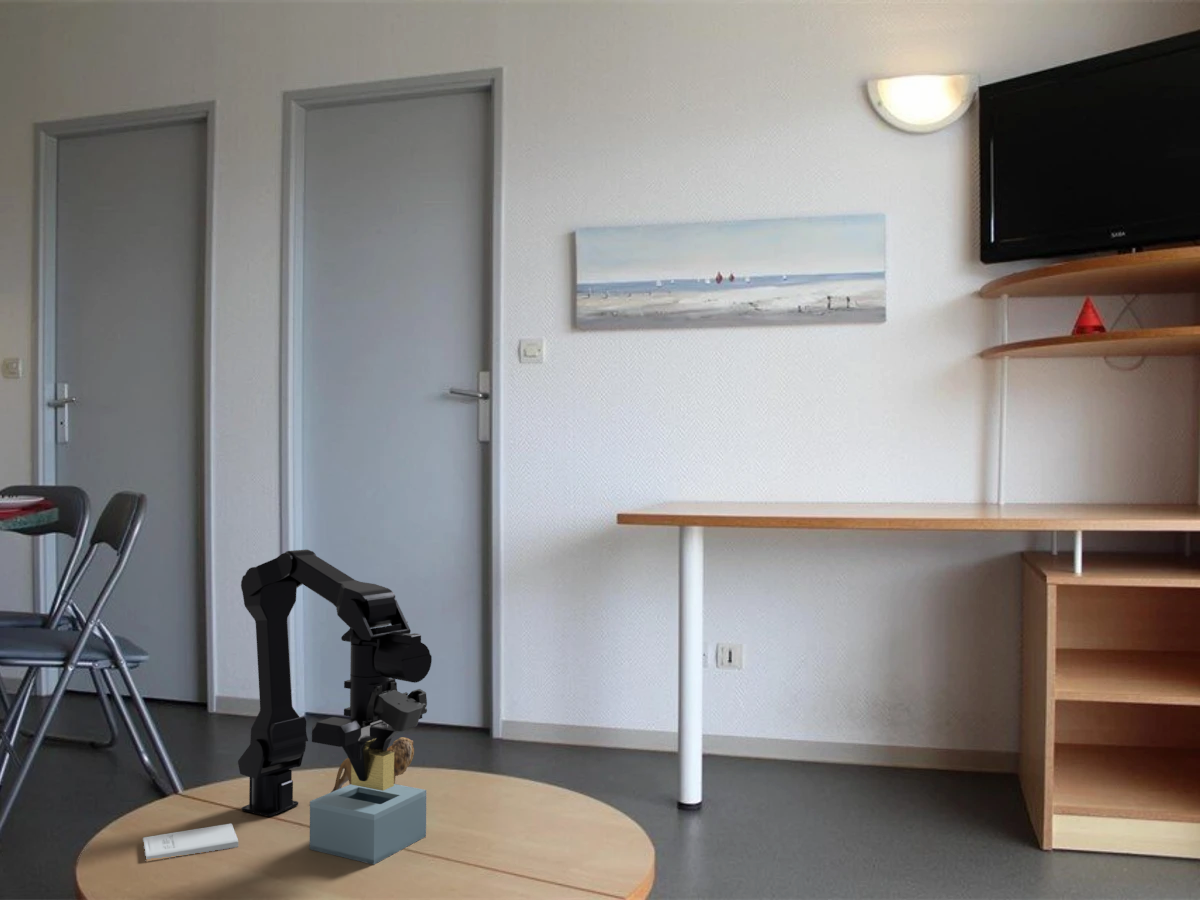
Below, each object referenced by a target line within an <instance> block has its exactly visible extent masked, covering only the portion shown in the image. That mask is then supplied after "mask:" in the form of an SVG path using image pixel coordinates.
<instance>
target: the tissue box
mask: <svg viewBox="0 0 1200 900" xmlns="http://www.w3.org/2000/svg"><path fill="white" fill-rule="evenodd" d="M330 792H331V791H330ZM330 792H329V793H326V794H324V795H322V796H319V797H316V798H314V799H312V800H310V801H309V850H311V851H315V852H320V853H323V854H328V855H332V856H337V857H341V858H345V859H347V860H348V859H349V860H353V861H358V862H361V863H366V864H369V865H376V864H378V863H379V862H381V861H383V860H385V859H387V858H389V857H390V856H393V855H394V854H397V853H398V852H400V851H401V850H404V849H405V848H407V847H409V846H410V845H413V844H415V843H416V842H419V841H421V840H422V839H424V838H426V837H427V789H424V788H419V787H413V786H407V785H401V784H396V783H395V784H394V786H392V787H390V788H388V789H386V790H383V791H382V790H377V789H371V788H366V787H361V786H356V785H351V784H350V785H349V784H347V785H345V786H342V787H341V788H340V789H338V790H336V791H333V792H331V793H330Z"/></svg>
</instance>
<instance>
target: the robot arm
mask: <svg viewBox="0 0 1200 900" xmlns="http://www.w3.org/2000/svg"><path fill="white" fill-rule="evenodd" d="M302 585H304V587H306V588H308V589H309V590H311V591H313V592H314V593H316V594H317V595H319V596H320V597H322V598H323V599H325V600H326V601H328V602H329V603H331V604H332V605H333V606H334V607H335V608H336V614H337V617H339V619H341V621H343V623H345V625H346V626H348V627H349V629H348V630H347V631H346V632H345V633H344V634H343V635H342V636H341V638H340V640H341V641H343V642H348V643H350V670H349V671H350V672H349V673H350V676H349V678H350V679H347V680H344V681H343V688H344V689H347V690H348V689H349V706H348V707H346V708H344V709H343V716H345V717H350V719H349V718H343V717H342V718H341V717H335V716H332V717H329V718H325V719H323V720H320V721H316V723H314V725H313V726H312V727H311V742H312V743H314V744H315V743H317V744H322V745H326V746H333V747H339V748H340V747H342V749H343V751H344V752H345V754H346V756H347V758H349V760H350V762H351V764H352V766H353V768H354V770H355V772H356V774H357V777H358V779H359V780H360V781H366V779H367V773H368V762H369V748H373V749H379V750H385V751H387V749H388V748H389V747H390V743H391V742H392V739H393V738H394V737H395V736H396V735H397V734H399V732H405V731H407V729H410V728H412V727H413V728H415V727H417V726H418V724H419V720H420V719H423V715H425V714H427V711H428V709H427V705H428V699H427V692H426V691H424V690H423V689H421V688H417V689H415V690H412V691H411V692H410V693H408V692H407V691H406V692H403V693H402V692H400V691H398V688H397V687H398V686H397V685H398V683H397V681H398V680H399V681H404V682H408V683H414V684H415V683H419V682H421V681H423V679H425V678H426V676H427V675H428V673H429V671H430V670H431V666H432V661H433V659H432V654H431V653H430V649H429V648H428V646H427V645H426V644H425V643H423V642H422V635H421V633H416V632H415V633H411V629H410V626H409V624H408V620H407V619H406V617H405V616H404V613H403V611H402V609H401V607H400V605H399V603H398V601H397V599H396V595H395V593H394V592H393V590H391V589H390V588H388V587H385V586H382V585H379V584H377V583H370V582H365V581H359V580H356V579H355V578H352V576H349V575H348V574H346V573H345V572H343V571H341V570H340V569H339V568H336V567H335V566H333V565H332V564H330V563H328V562H327V561H325V560H323V559H322V558H321V557H318V556H317V555H316V553H315V552H314V551H313V550H309V549H296V550H287V551H285V552H283V553H282V554H280V555H278V556H277V557H275V558H273V559H271V560H268V561H266V562H264V563H261V564H259V565H257V566H251V567H250V568H248V569H247V570H246V572H245V574H244V575H242V578H241V582H240V587H241V592H242V597H243V598H242V599H243V604H244V608H246V610H247V611H248V613H249V614H250V616H251V617H252V619H253V620H254V622H255V623H254V624H255V636H256V650H257V651H256V653H257V654H256V655H257V656H256V657H257V675H258V689H259V690H258V691H259V712H258V714H257V716H256V718H255V719H254V720H255V721H254V722H253V724H252V726H251V730H250V740H249V741H250V744H249V745H248V746H247V748H246V750H244V752H243V753H242V755H241V756H240V758H239V759H238V761H237V764H238V770H239V774H240V775H242V776H246V777H248V778H249V794H248V795H249V797H248V800H249V801H248V802H249V803H248V804H247V805H244V806H242V807H241V811H244V812H247V813H252V814H256V815H259V816H266V817H272V816H276V815H278V814H279V813H282V812H285V811H288V810H289V809H292V808H295V807H297V806H299V801H297V800H294V798H293V797H294V781H293V779H292V777H293V776H292V775H293V774H292V773H293V772H292V769H294V768H295V769H296V768H299V767H301V766H302V762H303V757H304V754H305V752H306V748H307V742H309V738H308V734H307V719H306V718H305V716H300V715H299V714H298V713H297V711H296V709H294V707H293V701H292V700H293V699H292V697H293V696H292V683H291V682H292V680H291V679H292V677H291V662H290V660H291V659H290V643H289V627H288V619H289V616H290V614H291V612H292V610H293V608H294V605H296V604H295V603H297V589H298V588H299V587H300V586H302ZM396 680H397V681H396Z"/></svg>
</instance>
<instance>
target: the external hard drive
mask: <svg viewBox="0 0 1200 900" xmlns="http://www.w3.org/2000/svg"><path fill="white" fill-rule="evenodd" d="M236 833H237V832H236V830H235V829H234V826H233V823H226V824H218V825H212V826H208V827H207V826H206V827H202V828H201V827H200V828H194V829H188V830H181V831H174V832H169V833H163V834H156V835H151V836H150V835H149V836H144V837H142V843H143V842H144V846H143V850H144V849H145V851H144V857H145V856H146V859H151V858H162V857H171V856H177V855H178V856H179V855H187V854H194V855H196V854H195V853H200V854H202V853H201V852H206V853H209V851H212V852H216V851H215V850H218V851H222V850H223V849H224V850H229V848H230V849H234V848H235V847H236V848H239V839H238V835H237V834H236ZM224 850H223V851H224Z"/></svg>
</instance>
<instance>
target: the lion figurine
mask: <svg viewBox="0 0 1200 900" xmlns="http://www.w3.org/2000/svg"><path fill="white" fill-rule="evenodd" d="M387 751H391V752H394V784H396V777H397V776H400V775H401V776H402V775H403V774H405V772H406V771H407V768H408V767H409V766H410V765H411V764H412V762H413V759H414V755H415V748H414V740H411V739H410V738H408V737H405V736H404V737H399V738H397V739H396V740H394V741H393V742H392V745H389V746H388V749H387ZM343 770H344V771H343ZM342 773H343V774H342ZM347 782H349V784H348V785H350V784H351V762H350V760H349V758H348V757H347V758H345V759H344V760H343V761H342V763H341V764H340V766H339V769H338V771H337V773H336V779H335V783H334V787H333V788H332V790H331V791H330V792H329V793H331V792H333V791H336V790H338V789H340V788H343V785H345V783H347Z"/></svg>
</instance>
